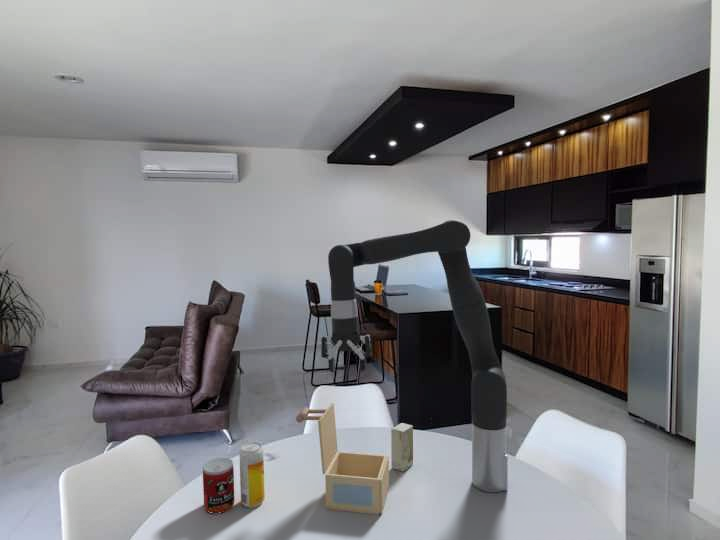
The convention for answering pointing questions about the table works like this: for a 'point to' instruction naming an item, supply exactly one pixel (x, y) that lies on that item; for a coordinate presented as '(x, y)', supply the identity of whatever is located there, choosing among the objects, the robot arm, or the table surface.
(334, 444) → the flap
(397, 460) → the skincare box
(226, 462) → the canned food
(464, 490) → the table surface
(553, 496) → the table surface
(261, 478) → the beer can
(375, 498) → the wooden box
